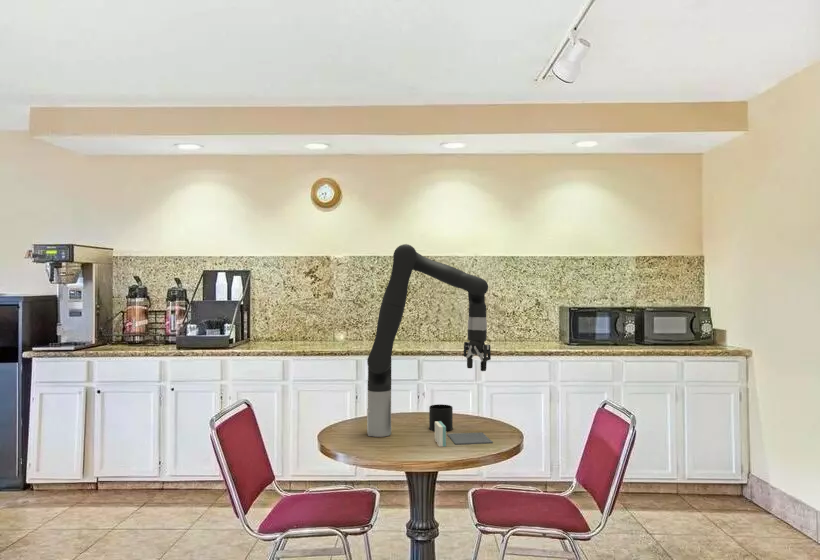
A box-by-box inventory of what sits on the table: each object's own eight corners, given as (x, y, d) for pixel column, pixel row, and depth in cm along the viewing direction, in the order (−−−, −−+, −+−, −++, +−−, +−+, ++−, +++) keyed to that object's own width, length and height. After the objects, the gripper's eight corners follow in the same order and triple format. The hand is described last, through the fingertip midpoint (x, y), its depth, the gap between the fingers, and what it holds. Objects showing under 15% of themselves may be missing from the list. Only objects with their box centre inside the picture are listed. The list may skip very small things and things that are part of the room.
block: (439, 446, 198) (439, 427, 198) (434, 440, 207) (434, 421, 207) (446, 446, 199) (445, 426, 199) (441, 440, 207) (441, 421, 208)
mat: (455, 444, 201) (455, 443, 201) (447, 435, 214) (447, 433, 214) (492, 443, 203) (492, 441, 203) (482, 433, 216) (482, 432, 216)
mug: (441, 424, 233) (441, 402, 233) (457, 430, 222) (457, 407, 222) (421, 426, 228) (421, 404, 228) (437, 433, 218) (437, 410, 218)
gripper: (458, 327, 223) (458, 367, 222) (481, 329, 211) (480, 372, 210) (473, 327, 227) (472, 366, 226) (496, 329, 215) (495, 371, 214)
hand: (476, 369), depth 218 cm, fingers open, 8 cm apart
